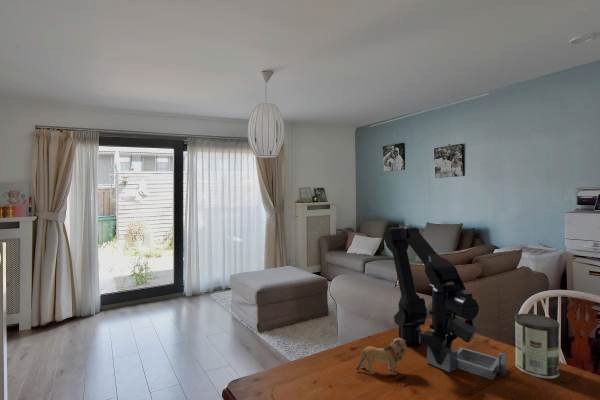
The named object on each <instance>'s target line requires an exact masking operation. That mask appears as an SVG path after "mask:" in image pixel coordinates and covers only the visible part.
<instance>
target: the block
mask: <svg viewBox="0 0 600 400" xmlns="http://www.w3.org/2000/svg"><path fill="white" fill-rule="evenodd" d="M457 352H458V351H457V350H455V349H453V348H451V349H450V348H448V347H446V348H445V349H444V354H443V360H442V364H441V365H439V364H437V362H436V360H435V358H434V356H433V354H432V352H431V350H430V348H429V347H428V346H426V363H427V364H429V365H432V366H434V367H436V368H437V369H440V370H443V371H445V372H448V373H451V372H454V371H456V370H457V369H458V368H457Z"/></svg>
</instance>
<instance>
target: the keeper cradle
mask: <svg viewBox="0 0 600 400" xmlns="http://www.w3.org/2000/svg"><path fill="white" fill-rule="evenodd" d="M456 351H458V352H457V369H458V370H461V371H465V372H467V373H471V374H473V375H477V376H479V377H482V378H484V379H489V380H492V381H493V380H494V379H495V378H496V376H497V375H499V376H500V377H502V378H506V377H507V353H506V352H503V351H498V357H497V356H493V355H489V354H486V353H483V352H479V351H475V350H473V349H469V348H466V347H462V346H460V347H459V348H458V349H457V350H456Z"/></svg>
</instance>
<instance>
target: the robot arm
mask: <svg viewBox="0 0 600 400" xmlns="http://www.w3.org/2000/svg"><path fill="white" fill-rule="evenodd" d="M382 235H383V240H384V243H385V246H386V247H387V249H388V250H389V252H391V254H392V258H393V263H394V266H395V271H396V276H397V281H398V286H399V290H400V295H401V296H400V299H399V301H398V311H397V312H396V313H395V314H394V316H393V320H394V323H395V325H397V326H398V338H401V339H403V340H405V341H406V343H405V344H406V346H407V347H409V348H413V349H415V348H417V347H418V346H419V345H422V346H426V347H427V346H428V347H429V348H430V350H431V352H432V354H433V356H434V358H435V360H436V362H437V364H439V365H441V364H442V360H443V354H444V349H445V348H446V347H448V348H450V349H452V346H453V343H454V341H455V340H456V339H458V338H459V339H461V340H462V341H463V342H464V343H470V342H471V340H473V339H474V336H475V334H476V332H477V326H476V322H475V321H476V320H475V318H476V317H477V316H478V314H479V312H480V310H479V309H480V305H479V304H478V302H477V300H476V299H475V298H473V294H472V293H471V292H466V286H465V283H464V282H463V280H462V278H461V276H460V274H459V272H458V270H457V268H456V266H455V265H454V264H453V263H452V262H451V261H450V260H448V259H446V258H444V257H443V256H440V255H439V254H438V253H437V252H436V251H435V249H434V248H433V247H432V246H431V245H430V243H428V241H427V240H426V239H425V237H424V236H423V235H422V234H421V233H420V230H419V228H418V227H415V226H409V227H404V226H400V227H398V226H397V227H387V228H386V229H385V230H384V231H383V234H382ZM409 246H410V247H411V249H412V250H413V252H414V253H415V254H416V256H417V257H418V258H419V260H420V261H421V262H422V264H423V265H424V273H425V275H426V277H427V279H428V280H429V282H430V283H429V284H428V285H427V289H429V290H432V291H431V294H432V296H431V297H432V298H431V299H432V300H431V301H432V302H431V310H429V315H431V316H432V317H431V323H430V324H429V329H430V330H428V329H427V330H426V331H424V332H423V331H422V329H421V326H424V325H425V324H426V320H427V317H428V309H427V306H426V301H425V299H424V297H420V296H419V294H417V290H416V286H415V281H414V276H413V273H412V267H411V264H410V259H409V254H408V249H409ZM459 317H460V318H459ZM432 330H433V331H432Z"/></svg>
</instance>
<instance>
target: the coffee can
mask: <svg viewBox="0 0 600 400" xmlns="http://www.w3.org/2000/svg"><path fill="white" fill-rule="evenodd" d="M514 321H515V328H514V330H515V333H514V334H515V363H514V365H515V367H516V368H517V369H518V370H519V371H521V372H523V373H525V374H527V375H529V376H531V377H536V378H539V379H546V380H547V379H550V380H551V379H552V380H553V379H557V378H558V377H560V343H559V342H560V337H559V336H560V330H559V329H560V323H559V321H557V320H555V319H554V318H551V317H548V316H545V315H541V314H535V313H534V314H533V313H518V314H517V313H516V314H515V315H514Z"/></svg>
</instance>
